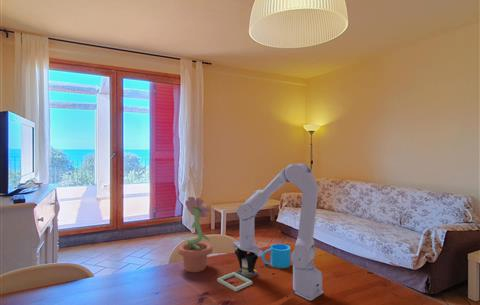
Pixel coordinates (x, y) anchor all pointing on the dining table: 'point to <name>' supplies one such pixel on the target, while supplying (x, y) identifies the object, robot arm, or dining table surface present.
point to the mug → (279, 256)
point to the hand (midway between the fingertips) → (246, 269)
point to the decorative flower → (196, 239)
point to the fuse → (245, 267)
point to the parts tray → (233, 286)
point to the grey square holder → (247, 275)
